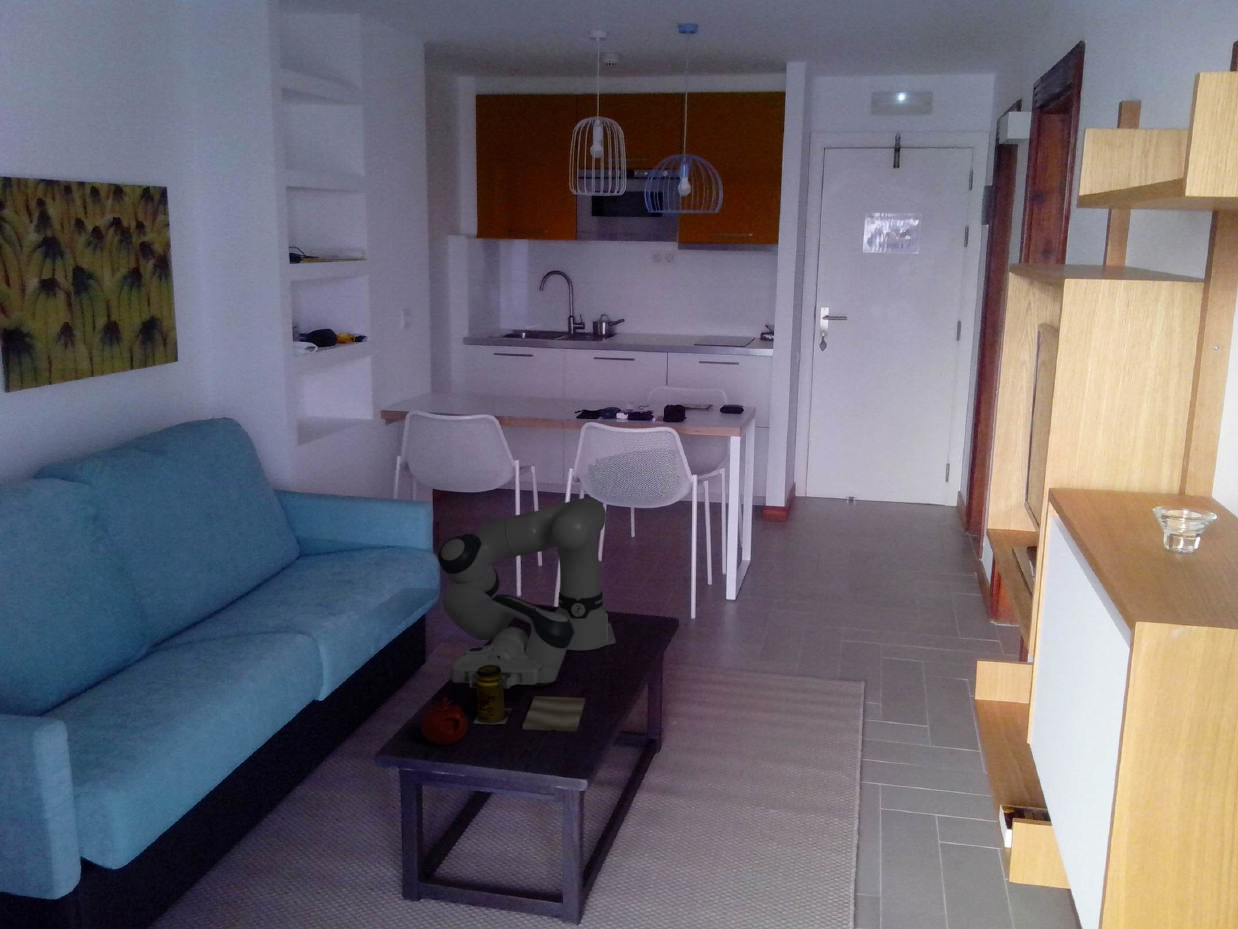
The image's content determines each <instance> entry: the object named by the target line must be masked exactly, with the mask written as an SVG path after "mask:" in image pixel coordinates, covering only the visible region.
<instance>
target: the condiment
mask: <svg viewBox="0 0 1238 929" xmlns="http://www.w3.org/2000/svg"><path fill="white" fill-rule="evenodd" d="M477 672H478V676H477V677H478V680H477V681H476V686H477V688H476V703H477V715H476V718H475V719H474V721H473V724H477V725H480V724H481V725H505V724H506V722H507V720H508V719H509V716H510V713H511V711H512V709H513V707H509V708H506V707H505V699H504V698H505V696H504V692H505V691H504V689H503V688H502V686H503V685H502V682H503V679H502V677H501V669H500V667H499V666H497V665H485V666H482V667H480V668H479V669H478V671H477Z"/></svg>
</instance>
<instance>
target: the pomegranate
mask: <svg viewBox="0 0 1238 929" xmlns="http://www.w3.org/2000/svg"><path fill="white" fill-rule="evenodd" d="M441 701H442V704H441V703H439V702H438V701H434V700H433V703H434V704H437V705H438V706H436V705H433V704H432V705H430V706H429V707H428V708H426V710H427V711H425V712H424V713H423V715H422V720H421V722H420V729H421V734H422V735H423V736H424V737H425V739H426V740H427V741H429V742H431V743H432V744H435V745H443V746H445V745H446V746H447V745H453V744H455V743H457V742H459V741H460V740H461V739H462V738H463V737H464V736H465V734H466V731H467V728H468V720H467V718H466V716H465V714H464V712H463V710H462V709H463V707H460V706H459V705H450V704H451V703H452V702H454V701H453V700H449V701H448V697H442V698H441Z"/></svg>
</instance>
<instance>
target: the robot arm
mask: <svg viewBox="0 0 1238 929" xmlns="http://www.w3.org/2000/svg"><path fill="white" fill-rule="evenodd" d="M606 519H607V513H606V508H605V507H604V505H603V503H601V501H600V500H598V499H596V498H593V497H583V498H582V497H581V498H578V499H574V500H573V499H572V500H570V501H566V502H562V503H558V504H555V505H551V506H548V507H545V508H541V509H539V510H535V511H530V512H525V513H521V514H516V515H511V516H505V517H501V518H498V519H495V520H493V521H490V522H489V521H488V522H487V523H484V524H483V525H481V526H479V527H478V528H477V529H476V531H475V533H474V534H472V533H465V534H463V535H457V536H455V537H452V538H450V539H448V540H447V541H446V542H444V543H443V544H442V545H441V547H440V548H439V549H438V552H437V553H438V554H437V559H438V563H439V564H440V565H439V566H440V567H441V569H442V570H443V571H444V572H445V573H446V575H447V576H448V578H449V580H451V582H452V583H453V584H452V585H451V586H450V587H449V588H448V589H447V590H446V592H445V593H444V596H443V597H442V607H443V610H444V611H445V613H446V615H447V616H448V617H449V618H450V619H451V620H452V621H453V623H454V624H456V626H458V628H460V629H461V630H462V631H464V632H465V633H466V634H467V635H468V636H470V637H472V638H474V639H476V640H478V641H479V640H480V641H488V640H491V639H492V640H491V642H490V644H488V645H484V646H480V647H479V646H478V647H471V648H467V649H465V650H464V652H463V655H461V656H459V657H458V658H457V659H456V660H455V661H454V663H453V664H452V666H451V668H450V676H451V681H452V682H453V683H455V684H457V683H458V684H459V683H461V684H469V688H471V689H473V688H475V689H477V686H476V681H477V680H478V677H477V676H478V672H477V671H478V669H479V668H480V667H482V666H485V665H497V666H499V667H500V669H501V677H502V679H503V682H502V685H503V686H502V688H503V690H504V689H505V690H507V689H508V690H509V689H510V688H511V687H512V686H515V685H516V686H517V685H522V686H523V685H524V686H530V687H535V688H539V687H541V688H542V687H545V686H548V685H551V684H553V683H555V681H557V680H556V679H557V677H558V674H559V672H560V669H561V666H562V663H563V661H564V658H565V656H566V653H567V650H570V651H589V650H591V651H593V650H595V649H596V650H597V649H600V648H602V647H604V646H609V645H614V644H616V643H617V641H616V637H615V633H614V629H613V626H612V623H611V622H608V621H609V620H608V619H609V618H608V616H609V615H608V613H607V611H606V610H605V607H604V594H603V590H602V564H601V561H600V559H599V555H598V549H597V536H598V534H600V532H601V531H602V530H603V528H604V526H605V524H606ZM554 548H556V551H557V556H558V561H559V563H558V564H559V575H560V576H559V585H560V588H559V589H560V591H559V592H558V596H557V597H558V606H559V607H558V608H557V609H556V610H555V611H551V610H547V609H545V608H543V607H540V606H538V605H536V604H534V603H531V602H528V601H526V600H524V599H522V598H519V597H516V596H514V595H510V594H505V593H504V594H502V593H501V594H497V592H498V590H499V587H500V584H501V583H500V582H501V581H500V578H499V574H498V572H497V570H496V569H495V568H494V567H493V565H492V564H494V563H496V562H497V561H499V560H501V559H506V558H507V559H508V558H509V559H510V558H514V557H519V556H520V557H521V556H527V555H530V554H535V553H541V552H545V551H548V550H550V549H554ZM495 594H496V595H495ZM514 618H516V619H519V620H521V621H522V622H525V623H528V624H530V635H529V637H528V635H527V634H526V632H525V631H524V630H523V629H522V628H520V627H517V626H509V624H510V623H511V622H512V620H513V619H514ZM508 626H509V627H508Z"/></svg>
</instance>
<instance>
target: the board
mask: <svg viewBox="0 0 1238 929" xmlns="http://www.w3.org/2000/svg"><path fill="white" fill-rule="evenodd" d="M585 704H586V698H584V697H567V696H566V697H565V696H564V697H563V696H562V697H561V696H537V695H536V696H533V700H532V702H531V704H530V707H529V709H528V711H527V714H526V717H525V719H524V721H523V724H522V730H527V731H528V730H529V731H530V730H531V731H532V730H533V731H551V730H556V731H557V732H577V731H578V728H577V727H579V724H580V720H581V718H582V715H583V711H584V708H585ZM583 707H584V708H583ZM582 710H583V711H582ZM556 731H555V732H556Z"/></svg>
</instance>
